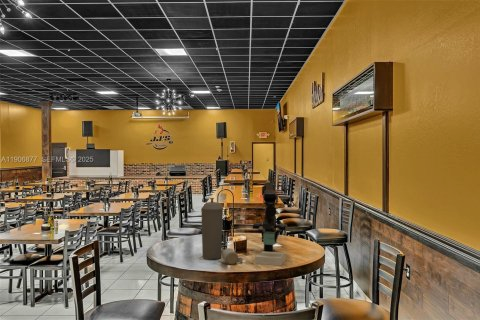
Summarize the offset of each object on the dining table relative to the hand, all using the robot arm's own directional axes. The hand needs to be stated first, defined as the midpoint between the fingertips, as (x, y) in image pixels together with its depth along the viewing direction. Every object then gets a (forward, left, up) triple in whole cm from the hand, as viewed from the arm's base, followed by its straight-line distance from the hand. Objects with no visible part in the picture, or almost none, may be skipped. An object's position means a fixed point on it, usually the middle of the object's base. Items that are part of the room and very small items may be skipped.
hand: (270, 241), depth 241 cm
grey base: (0, 0, -11) cm, 11 cm away
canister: (+1, -35, -11) cm, 36 cm away
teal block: (0, 0, -1) cm, 1 cm away
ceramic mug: (+9, -19, -12) cm, 24 cm away
